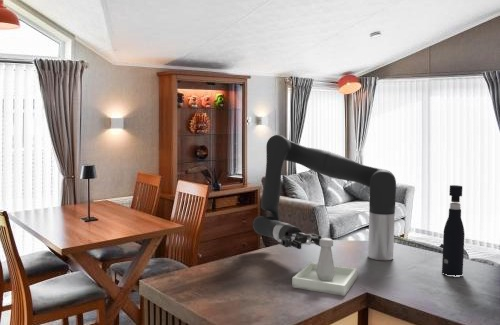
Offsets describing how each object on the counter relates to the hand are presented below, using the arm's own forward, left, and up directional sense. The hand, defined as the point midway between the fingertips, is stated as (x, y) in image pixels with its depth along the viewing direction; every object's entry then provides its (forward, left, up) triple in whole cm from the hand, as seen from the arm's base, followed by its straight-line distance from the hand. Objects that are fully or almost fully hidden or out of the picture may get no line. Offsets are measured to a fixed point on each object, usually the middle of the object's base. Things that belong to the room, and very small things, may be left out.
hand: (311, 244), depth 150 cm
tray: (+6, +7, -10) cm, 13 cm away
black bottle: (-21, +43, -10) cm, 49 cm away
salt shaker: (+6, +6, -9) cm, 13 cm away
